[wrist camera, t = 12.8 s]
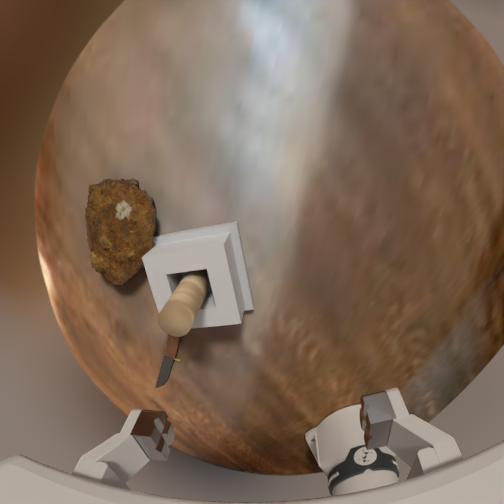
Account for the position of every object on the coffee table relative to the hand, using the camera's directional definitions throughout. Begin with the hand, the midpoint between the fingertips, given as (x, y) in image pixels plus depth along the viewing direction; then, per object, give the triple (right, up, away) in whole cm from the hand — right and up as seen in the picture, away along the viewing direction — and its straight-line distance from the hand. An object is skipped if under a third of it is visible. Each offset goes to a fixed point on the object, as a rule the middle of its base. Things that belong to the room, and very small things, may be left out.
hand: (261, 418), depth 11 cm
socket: (-7, +4, +30) cm, 31 cm away
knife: (-13, -10, +36) cm, 39 cm away
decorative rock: (-18, +10, +29) cm, 36 cm away
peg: (-7, +4, +29) cm, 30 cm away
